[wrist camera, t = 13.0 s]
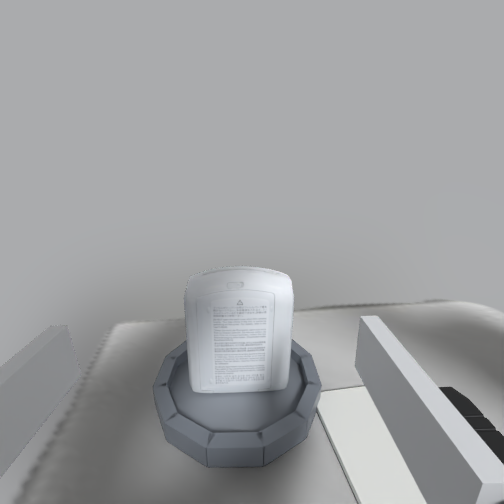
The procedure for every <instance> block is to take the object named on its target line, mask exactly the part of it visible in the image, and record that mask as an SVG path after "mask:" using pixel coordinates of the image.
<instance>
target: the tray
mask: <svg viewBox="0 0 504 504" xmlns="http://www.w3.org/2000/svg"><path fill="white" fill-rule="evenodd" d="M321 386H322V385H321V382H320V379H319V376H318V373H317V370H316V367H315V364H314V361H313V358H312V355H311V354H310V353H308V352H307V351H306V350H305V349H303V348H302V347H301V346H300V345H299V344H297V343H296V342H295V341H294V340H293V339H292V342H291V356H290V369H289V381H288V383H287V387H286V388H285V389H281V390H274V391H261V392H259V391H257V392H234V393H198V392H194V391H193V390H192V387H191V386H190V381H189V367H188V353H187V340H186V341H185V342H184V343H182V344H181V345H180V346H179V347H177V348H176V349H175V350H173V351H172V352H171V353H170V354H168V355H167V356H166V357H165V360H164V362H163V364H162V367H161V369H160V371H159V374H158V376H157V378H156V381H155V383H154V385H153V392H154V400H155V405H156V409H157V412H158V415H159V418H160V422H161V425H162V428H163V431H164V435H165V438H166V440H167V442H169V443H170V444H172V445H174V446H175V447H177V448H178V449H180V450H181V451H183V452H184V453H186V454H187V455H189V456H190V457H192V458H194V459H195V460H197V461H198V462H200V463H201V464H203V465H204V466H206V467H207V466H208V467H263V465H264V466H265V465H267V464H268V463H270V462H271V461H273V460H274V459H276V458H277V457H279V456H280V455H282V454H283V453H285V452H287V451H288V450H290V449H291V448H293V447H294V446H296V445H297V444H299V443H300V442H302V441H303V440H305V439H306V438H307V435H308V432H309V430H310V427H311V424H312V422H313V419H314V416H315V413H316V411H317V405H318V402H319V400H320V395H321Z"/></svg>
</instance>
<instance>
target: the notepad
mask: <svg viewBox="0 0 504 504" xmlns="http://www.w3.org/2000/svg"><path fill="white" fill-rule="evenodd" d="M317 413H318V415H319V417H320V419H321V421H322V424H323V426H324V428H325V430H326V433H327V435H328V437H329V439H330V442H331V444H332V446H333V448H334V450H335V453H336V455H337V457H338V459H339V462H340V464H341V466H342V468H343V471H344V473H345V475H346V477H347V479H348V482H349V484H350V486H351V488H352V491H353V493H354V495H355V497H356V500H357V502H358V504H427V503H426V501H425V499H424V497H423V495H422V494H421V492H420V490H419V488H418V486H417V484H416V482H415V480H414V478H413V476H412V474H411V473H410V471H409V469H408V467H407V465H406V463H405V461H404V459H403V457H402V455H401V453H400V452H399V450H398V448H397V446H396V444H395V442H394V440H393V438H392V436H391V434H390V432H389V431H388V429H387V427H386V425H385V423H384V421H383V419H382V417H381V415H380V413H379V412H378V410H377V408H376V406H375V404H374V402H373V400H372V398H371V396H370V394H369V392H368V391H367V389H366V387H365V386H362V387H355V388H347V389H339V390H332V391H324V392H321V395H320V400H319V402H318V405H317Z"/></svg>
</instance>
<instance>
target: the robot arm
mask: <svg viewBox="0 0 504 504" xmlns="http://www.w3.org/2000/svg"><path fill="white" fill-rule="evenodd" d="M355 368H356V370H357V371H358V373H359V375H360V377H361V379H362V381H363V383H364V385H365V387H366V389H367V391H368V392H369V394H370V396H371V398H372V400H373V402H374V404H375V406H376V408H377V410H378V412H379V413H380V415H381V417H382V419H383V421H384V423H385V425H386V427H387V429H388V431H389V432H390V434H391V436H392V438H393V440H394V442H395V444H396V446H397V448H398V450H399V452H400V453H401V455H402V457H403V459H404V461H405V463H406V465H407V467H408V469H409V471H410V473H411V474H412V476H413V478H414V480H415V482H416V484H417V486H418V488H419V490H420V492H421V494H422V495H423V497H424V499H425V501H426V503H427V504H504V436H503V435H502V434H501V433H500V432H499V431H496V429H495V427H494V426H493V424H492V423H491V422H490V421H489V420H488V419H487V418H484V416H483V414H482V413H481V412H480V411H479V409H478V408H477V407H476V406H475V405H474V404H473V403H472V402H471V401H470V400H469V399H468V398H466V397H465V396H464V395H462V394H461V393H459V392H458V391H456V390H455V389H453V388H452V387H437V385H436V384H435V383H434V382H433V381H432V379H431V378H430V377H429V376H428V375H427V374H426V372H425V371H424V370H423V369H422V368H421V366H420V365H419V364H418V363H417V362H416V361H415V359H414V358H413V357H412V356H411V355H410V353H409V352H408V351H407V350H406V349H405V348H404V346H403V345H402V344H401V343H400V342H399V340H398V339H397V338H396V337H395V336H394V335H393V333H392V332H391V331H390V330H389V329H388V327H387V326H386V325H385V324H384V323H383V322H382V320H381V319H380V318H379V317H378V316H360V324H359V333H358V341H357V350H356V359H355ZM80 376H81V371H80V368H79V364H78V360H77V357H76V353H75V350H74V346H73V343H72V339H71V336H70V333H69V329H68V326H67V325H63V326H50V327H49V328H47V329H46V330H45V331H44V332H42V333H41V334H40V335H39V336H38V337H36V338H35V339H34V340H33V341H31V342H30V343H29V344H28V345H27V346H25V347H24V348H23V349H22V350H21V351H19V352H18V353H17V354H16V355H15V356H13V357H12V358H11V359H10V360H9V361H7V362H6V363H5V364H4V365H2V366H1V367H0V478H1V477H2V476H3V474H4V473H5V472H6V471H7V469H8V468H9V467H10V465H11V464H12V463H13V462H14V460H15V459H16V458H17V456H18V455H19V454H20V453H21V451H22V450H23V449H24V448H25V446H26V445H27V444H28V443H29V441H30V440H31V439H32V437H33V436H34V435H35V434H36V432H37V431H38V430H39V429H40V427H41V426H42V425H43V423H44V422H45V421H46V420H47V418H48V417H49V416H50V415H51V413H52V412H53V411H54V409H55V408H56V407H57V406H58V404H59V403H60V402H61V400H62V399H63V398H64V397H65V395H66V394H67V393H68V392H69V390H70V389H71V388H72V386H73V385H74V384H75V383H76V381H77V380H78V379H79V378H80Z"/></svg>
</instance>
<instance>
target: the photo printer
mask: <svg viewBox="0 0 504 504" xmlns="http://www.w3.org/2000/svg"><path fill="white" fill-rule="evenodd" d="M184 306H185V322H186V337H187V353H188V367H189V381H190V386H191V387H192V390H193V391H194V392H198V393H234V392H257V391H259V392H261V391H274V390H281V389H285V388H286V387H287V383H288V381H289V369H290V356H291V342H292V327H293V313H294V293H293V288H292V281H291V279H290V278H289V275H287V274H285V273H282V272H279V271H276V270H272V269H267V268H261V267H252V266H231V267H222V268H216V269H211V270H207V271H203V272H200V273H197V274H194V275H191V276H190V278H189V280H188V282H187V288H186V291H185V295H184Z"/></svg>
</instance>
